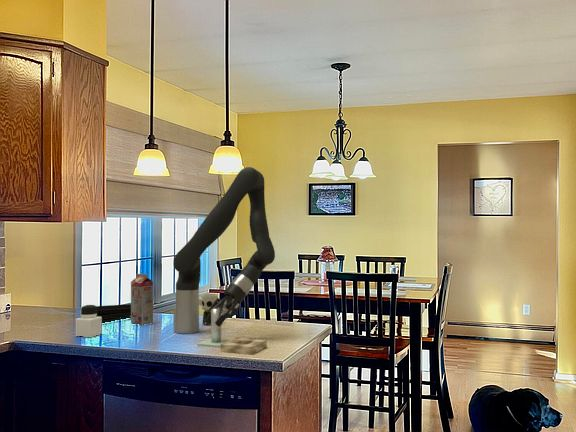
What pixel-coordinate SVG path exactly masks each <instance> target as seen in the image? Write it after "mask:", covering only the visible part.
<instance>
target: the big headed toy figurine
mask: <svg viewBox="0 0 576 432" xmlns="http://www.w3.org/2000/svg"><path fill="white" fill-rule="evenodd" d="M218 296H219V295H218V293H217V294H216V293H203V294H201V297H199V307H201V309H202V310H203V314H202V325H205V324H206V325H211V323H210V324H208V323H207V322H206V321H205V319H206V318H207V317H208V315H209V314H210V311H209V309H210V307H211V306H212V304H213V303H214V302H215V300H216V299H217V298H219V297H218ZM213 308H215V307H213Z"/></svg>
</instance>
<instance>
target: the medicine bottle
mask: <svg viewBox="0 0 576 432" xmlns="http://www.w3.org/2000/svg"><path fill="white" fill-rule="evenodd" d="M97 306H98V305H94V304H84V305H82V306H81V307H80V317H78V318H75V337H76V336H84V337H92V338H94V337H93V336H95V337H97V336H96V335H99V336H101V335H100V334H103V332H102V331H103V325H102V321H103V319H102V317H96V315H97ZM84 337H83V338H84Z"/></svg>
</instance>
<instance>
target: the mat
mask: <svg viewBox="0 0 576 432" xmlns="http://www.w3.org/2000/svg"><path fill="white" fill-rule="evenodd" d="M230 340H231V339H222V338H221V342H218V343H213V342H211V337H210V338H208V339H206V340H203V341H200V342H197V343H196V345H197V346H201V347H212V348H221V344H223V343H225V342H228V341H230Z"/></svg>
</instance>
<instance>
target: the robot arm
mask: <svg viewBox="0 0 576 432" xmlns="http://www.w3.org/2000/svg"><path fill="white" fill-rule="evenodd" d="M228 187H229V188H228V189H227V190H226V191H225V193H224V194H223V195H222V197H221V198H220V199H219V201H218V202H217V203H216V205H215V206H214V207H213V208H212V209H211V210H210V212H209V213H208V214H207V215H206V217H205V218H204V220H203V222H202V223H200V225H199V227H198V228H197V230H196V231H195V232H194V234H193V236H192V237H191V238H190V239H189V241H187V243H185V244H184V246H182V248H181V249H180V250H179V251H178V252H176V253H175V254H176V255H174V259H173V262H172V263H173V267H174V270H176V272H178V277H177V281H176V283H175V307H174V308H173V332H174V333H177V334H195V333H198V332H200V305H199V298H200V282H201V268H202V267H201V257H202V255H203V253H204V252H205V250H207V249H208V247H210V246H211V245H212V244H213V243H214V242H215V241H217V240H218V239H219V238H220V237H221V236H222V235H223V234H224V232H225V231H226V230H227V229H228V227H229V226H230V225H231V224H232V222H233V221H234V218H235V216H236V213H237V211H238V207H239V205H240V204H241V202H242V200H243V199H244V198H245V197H246V195H247V196H248V199H249V206H250V208H249V210H250V211H249V229H250V235H251V236H250V237H251V240H252V242H253V243H255V245H256V251H255V252H254V253H253V254H252V255H251V257H250V258H249V260H248V261H247V263H246V265H245V266H244V267H243V268H242V269H241V271H240V272H239V273H238V274H237V276H235V278H234V279H233V280H232V281H231V282H230V283H229V285H228V286H227V287H226V288H225V290H224V291H223V294H224V296H223V297H222V298H219V297H218V298H217V299H216V300H215V302H214V303H213V304H212V306H211V307H210V309H209V311H210V314H209V315H208V317H207V318H206V319H205V321H206V322H207V323H208V324H207V325H211V324H210V323H211V309H213V307H215V308H220V309H221V315H220V317H219V318H218V319H217V321H216V322H215V324H216V325H217V326H219V327H220V326H221V327H222V325H223V324H224V322H225V320H228V319H231V318H232V317H234V315H235V314H236V313H237V311H238V310H239V309H240V307H241V303H243V300H244V299H245V298H246V296H247V295H248V294H249V293H250V291H251V290H252V288H253V286H254V285H255V284H256V283H257V281H258V279H259V278H260V276H261V274H262V272H263V271H264V269H265V268H266V267H267V266H268V265H270V264H272V263H273V262H274V260H275V258H276V251H275V247H274V245H273V242H272V239H271V238H270V233H269V231H270V230H269V224H268V220H267V213H266V211H267V210H266V203H265V202H266V201H265V178H264V175H263V174H262V172H260V171H258V170H257V169H256V168H254V167H250V166H247V167H244V168H242V169H241V170H240V171H239V172H238V173H237V174H236V176H235V178H234V180H233V181H232V183H231V184H230V186H228Z"/></svg>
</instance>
